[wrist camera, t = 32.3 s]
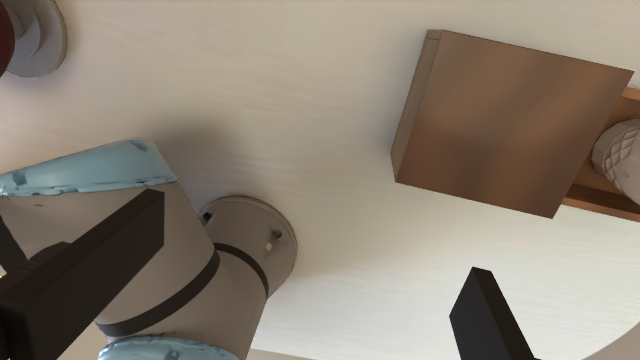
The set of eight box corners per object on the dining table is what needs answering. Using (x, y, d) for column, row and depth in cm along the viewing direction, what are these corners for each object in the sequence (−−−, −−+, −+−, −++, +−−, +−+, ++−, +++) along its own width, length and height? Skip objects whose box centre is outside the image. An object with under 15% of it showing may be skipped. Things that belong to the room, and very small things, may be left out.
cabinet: (577, 61, 36) (635, 71, 28) (518, 183, 42) (552, 219, 34) (427, 29, 37) (443, 29, 29) (390, 153, 42) (395, 182, 35)
